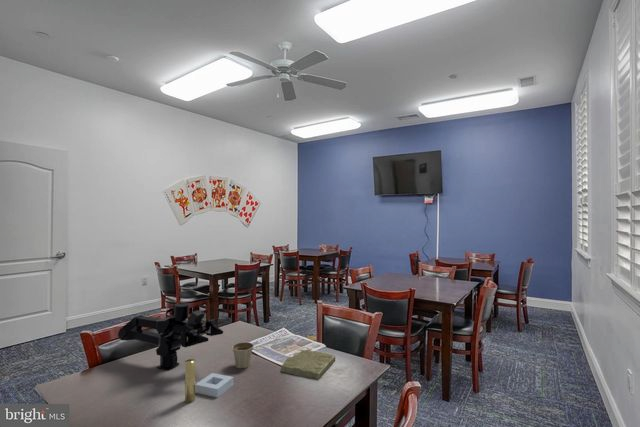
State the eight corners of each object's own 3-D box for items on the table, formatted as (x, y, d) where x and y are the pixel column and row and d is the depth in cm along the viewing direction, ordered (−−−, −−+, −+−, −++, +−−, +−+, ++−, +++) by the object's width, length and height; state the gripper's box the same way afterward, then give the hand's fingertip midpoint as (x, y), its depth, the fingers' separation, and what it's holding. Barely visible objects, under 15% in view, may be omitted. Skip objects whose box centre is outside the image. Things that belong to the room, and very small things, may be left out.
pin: (182, 401, 121) (183, 362, 121) (189, 397, 124) (189, 358, 124) (190, 403, 120) (190, 363, 120) (197, 398, 123) (197, 359, 123)
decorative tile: (335, 361, 156) (335, 353, 156) (319, 380, 138) (319, 372, 138) (299, 355, 164) (299, 347, 164) (278, 372, 145) (278, 364, 145)
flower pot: (248, 371, 145) (248, 351, 145) (228, 369, 147) (228, 349, 147) (257, 362, 154) (257, 343, 154) (237, 360, 156) (237, 341, 156)
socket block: (195, 392, 127) (195, 384, 127) (212, 380, 137) (212, 372, 137) (217, 397, 124) (217, 389, 124) (233, 384, 133) (233, 377, 133)
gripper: (169, 316, 137) (200, 323, 131) (202, 305, 154) (230, 310, 149) (168, 344, 137) (199, 351, 131) (201, 329, 155) (229, 336, 149)
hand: (215, 336), depth 140 cm, fingers open, 9 cm apart
